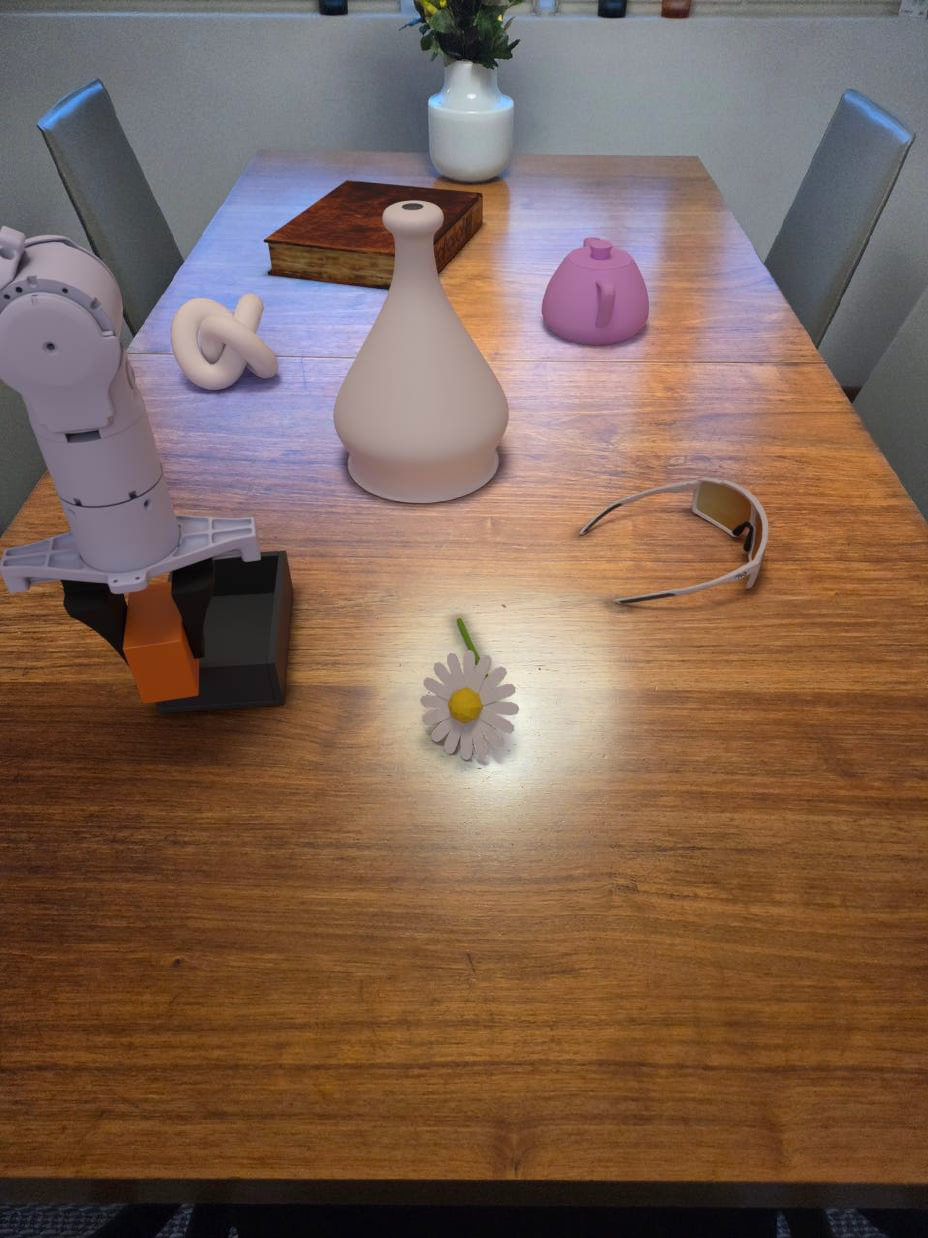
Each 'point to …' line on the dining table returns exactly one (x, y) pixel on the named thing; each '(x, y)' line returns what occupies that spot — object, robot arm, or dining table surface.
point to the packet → (159, 646)
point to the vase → (419, 383)
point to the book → (365, 233)
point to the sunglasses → (723, 509)
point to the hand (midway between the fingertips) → (167, 652)
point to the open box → (244, 636)
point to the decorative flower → (468, 702)
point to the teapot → (596, 295)
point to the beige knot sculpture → (220, 342)
